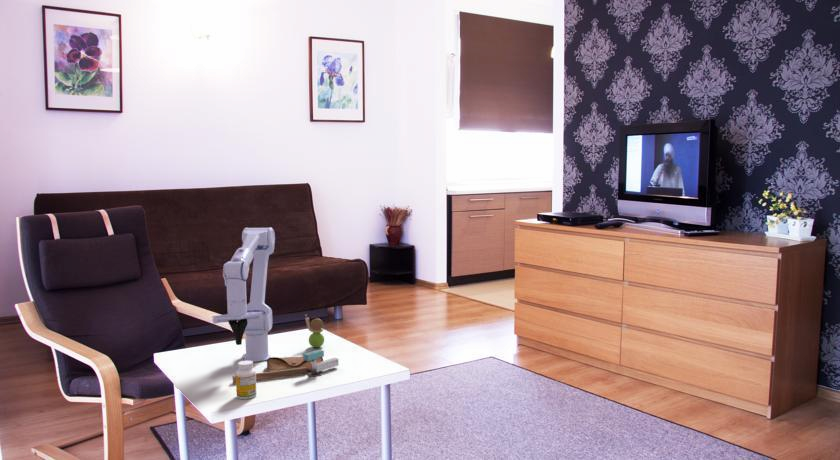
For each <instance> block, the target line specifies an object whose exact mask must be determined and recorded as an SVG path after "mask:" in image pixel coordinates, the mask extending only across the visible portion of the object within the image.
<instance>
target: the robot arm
mask: <svg viewBox="0 0 840 460" xmlns="http://www.w3.org/2000/svg"><path fill="white" fill-rule="evenodd" d="M275 235H276V233H275V229H273V227H270V226H269V227H245V228H243V230H242V233H241V241H242V245H241V247H239V248H237V249H236V251H235V252H234V254H233V255H232V257H231V259H230V261H227V262H225V263H223V268H222V277H223V280H224V286H225V287H226V301H227V303H226V305H227V313H226V314H219V315H213V316H212V324H215V325H216V324H218V323H228V325H229V326H230V329H231V330H232V333H233V336H234V339H235V345H236V346H240V345H242V341H243V337H244V335H245V337H244V339H245V341H244V342H245V353H243V354H242V357H243V358H244V359H245V360H244V361H252V362H253V363H255V362H262V361H267V360H268V358H271V355H270V354H269V335H268V332H270V331H271V330H272V328H273V310H272V308H271V307H270V306H269V305H267V304H266V303H265V300H266V287H267V276H268V263H269V259H270V258H269V257H270V255H272V254H274V253H275V251H274V250H275V246H276V245H275V244H276V243H275V242H276V236H275ZM252 262H253V264H252V272H251V273H252V275H251V284H250V285H251V287H250V294H249V295H250V297H249V302H248V303H247V279H248V277H249V271H250V265H251V263H252Z"/></svg>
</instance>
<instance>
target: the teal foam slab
mask: <svg viewBox="0 0 840 460" xmlns="http://www.w3.org/2000/svg"><path fill="white" fill-rule="evenodd" d="M324 352H325V350H323V349H316V350H315V349H314V350H312V351H310V352H305V353H303V354H302V357H303V360H306V361H310V360H311V373H317V372H319V371H322V372H323V371H325V370H328V369H329V370H330V369H331V368H335V367H338V366H339V358H336V357H332V358H330V359H329V358H328V359H326V360H323V361H322V362H319V363H316V359H317V358H320V357H323V358H324V356H325V354H324ZM319 373H320V372H319Z"/></svg>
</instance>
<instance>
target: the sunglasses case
mask: <svg viewBox="0 0 840 460" xmlns="http://www.w3.org/2000/svg"><path fill="white" fill-rule="evenodd" d="M270 357H271V356H270ZM323 358H324V356H323V357H320V358H317V359H316V363H319V362H322V361H324V359H323ZM301 367H306V369H307V373H309V372H311V360H310V361H306V360H303V356H287V357H275V356H272V357H271V358H268V360H266V372H270V371H278V370H285V369H293V368H301ZM319 373H323V371H319Z"/></svg>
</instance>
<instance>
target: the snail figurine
mask: <svg viewBox="0 0 840 460" xmlns="http://www.w3.org/2000/svg"><path fill="white" fill-rule="evenodd" d="M304 316H305V318H304V319H305V322H306V327H307V329H308V331H310V332H311V334H310V335H309V337H308V343H309V345H310V346H311V347H313V348H316V349H317V348H320V347H322V346H323V345H324V343H325V337H324V335H323V334H322V332H323V331H324V321H323V320H322V319H320V318H314V319H312V320H311V321H310V318H309V317H307V316H308V315H307V314H304Z"/></svg>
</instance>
